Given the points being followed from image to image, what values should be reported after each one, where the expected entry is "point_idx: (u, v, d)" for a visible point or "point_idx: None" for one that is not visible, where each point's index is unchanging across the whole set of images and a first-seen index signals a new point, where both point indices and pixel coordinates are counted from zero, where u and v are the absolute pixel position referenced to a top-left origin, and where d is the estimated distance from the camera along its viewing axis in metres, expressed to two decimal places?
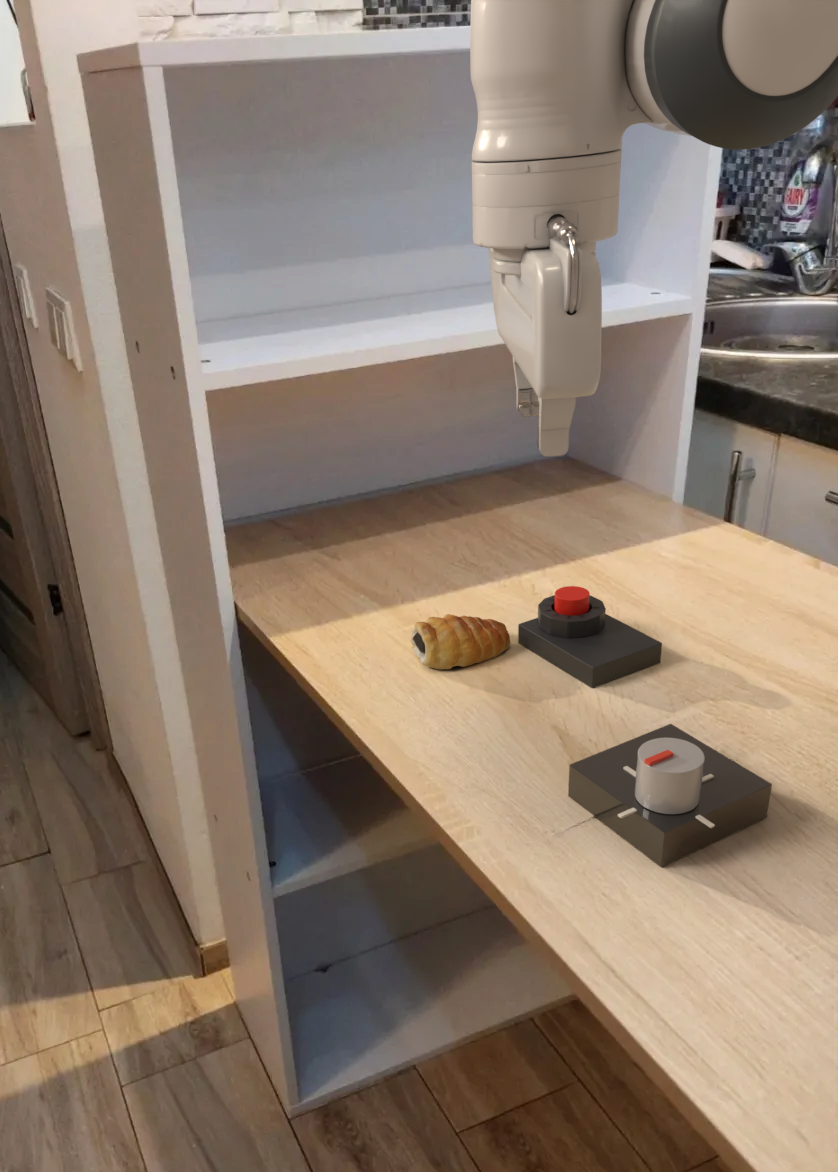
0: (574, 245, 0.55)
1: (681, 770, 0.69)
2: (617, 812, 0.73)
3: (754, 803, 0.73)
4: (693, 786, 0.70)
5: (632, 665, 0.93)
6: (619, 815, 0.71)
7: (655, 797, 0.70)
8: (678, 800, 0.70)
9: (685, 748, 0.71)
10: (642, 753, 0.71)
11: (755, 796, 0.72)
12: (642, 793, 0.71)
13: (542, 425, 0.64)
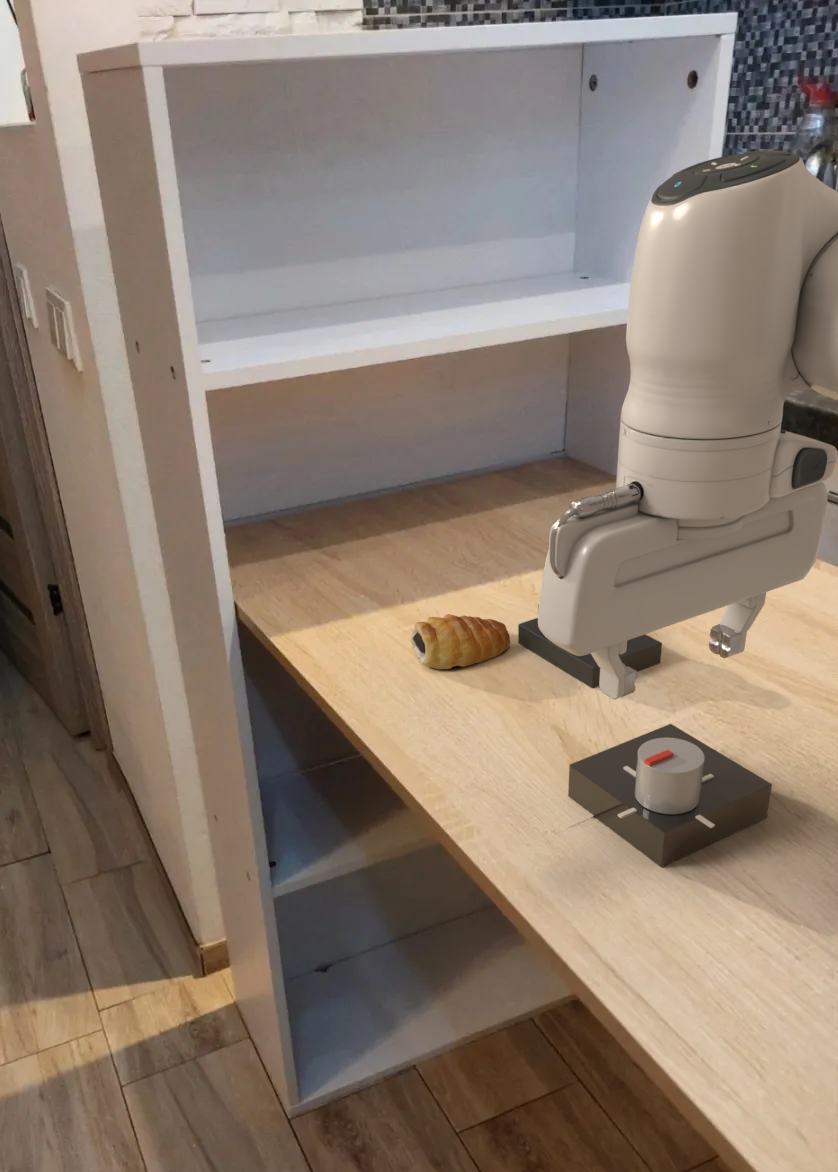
0: (558, 520, 0.57)
1: (681, 770, 0.69)
2: (617, 812, 0.73)
3: (754, 803, 0.73)
4: (693, 786, 0.70)
5: (632, 665, 0.93)
6: (619, 815, 0.71)
7: (655, 797, 0.70)
8: (678, 800, 0.70)
9: (685, 748, 0.71)
10: (642, 753, 0.71)
11: (755, 796, 0.72)
12: (642, 793, 0.71)
13: (597, 663, 0.65)
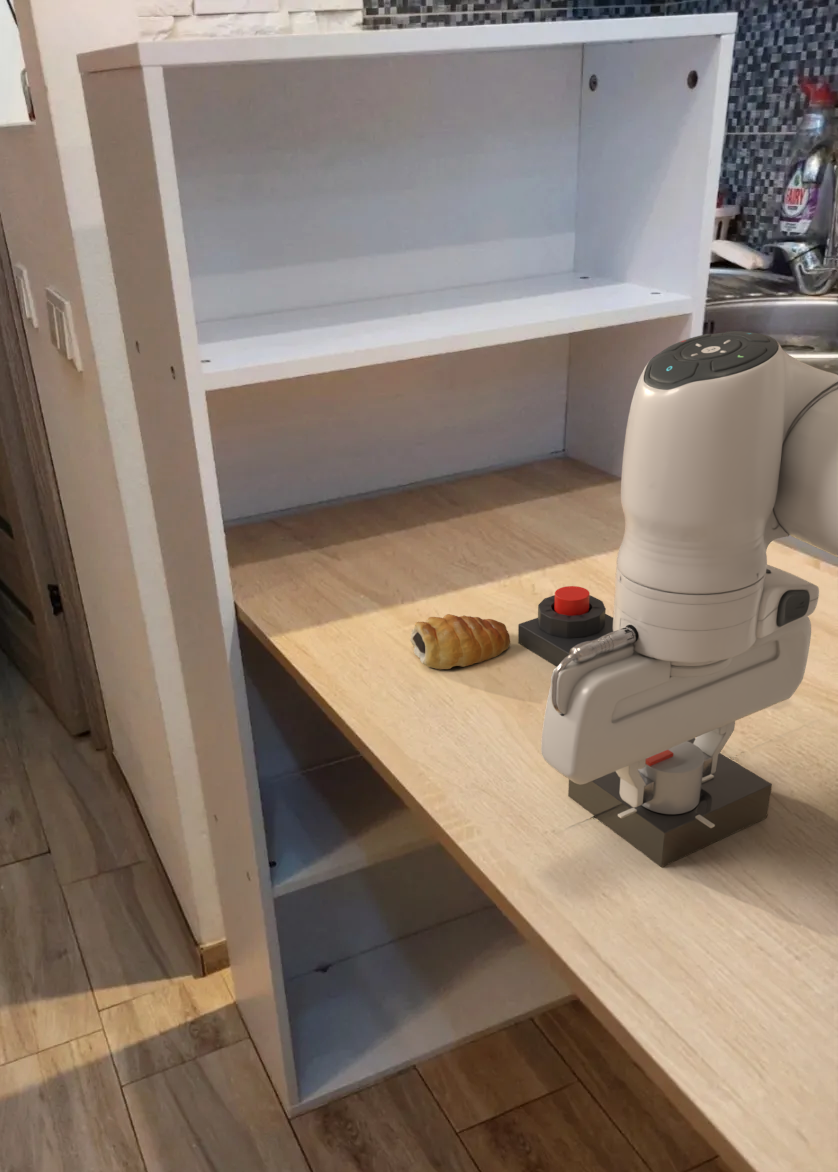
0: (559, 665, 0.62)
1: (681, 770, 0.69)
2: (617, 812, 0.73)
3: (754, 803, 0.73)
4: (693, 786, 0.70)
5: None
6: (619, 815, 0.71)
7: (655, 797, 0.70)
8: (678, 800, 0.70)
9: (685, 748, 0.71)
10: None
11: (755, 796, 0.72)
12: None
13: None
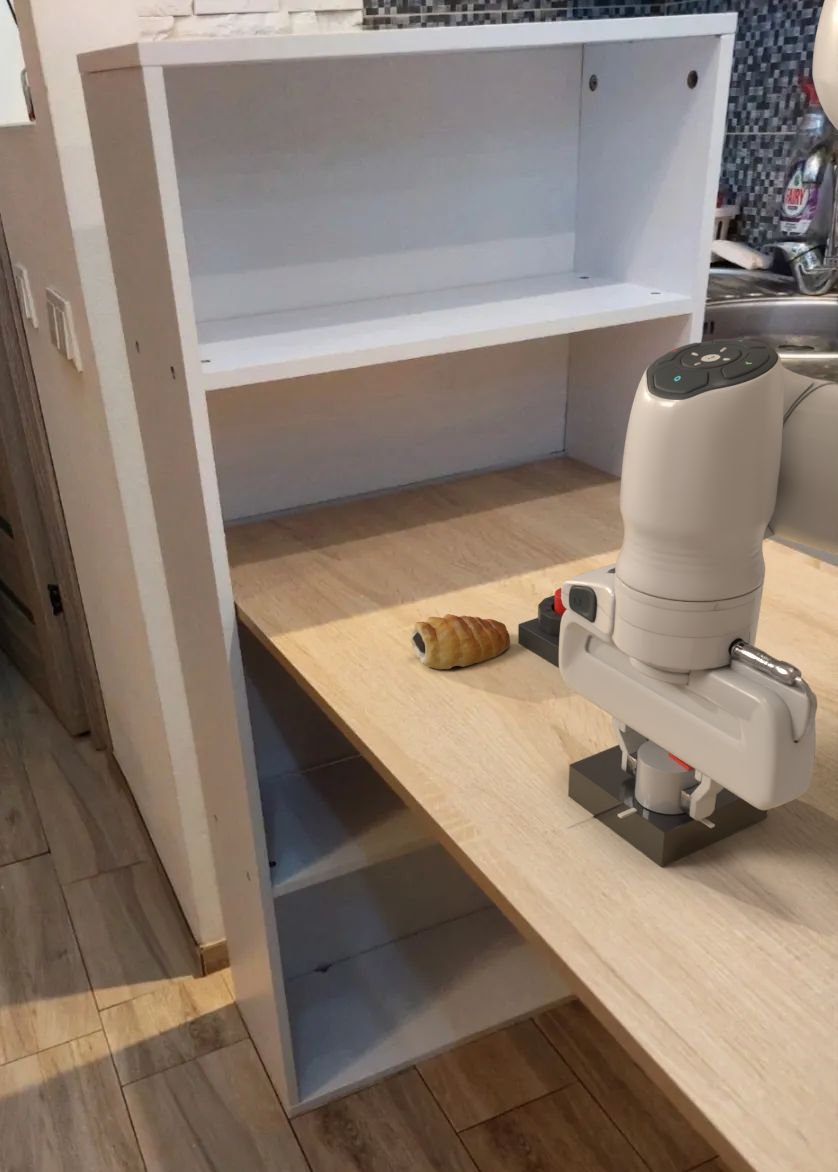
0: (810, 691, 0.58)
1: None
2: (617, 812, 0.73)
3: None
4: None
5: None
6: (619, 815, 0.71)
7: None
8: None
9: None
10: (670, 770, 0.69)
11: None
12: None
13: (701, 798, 0.68)
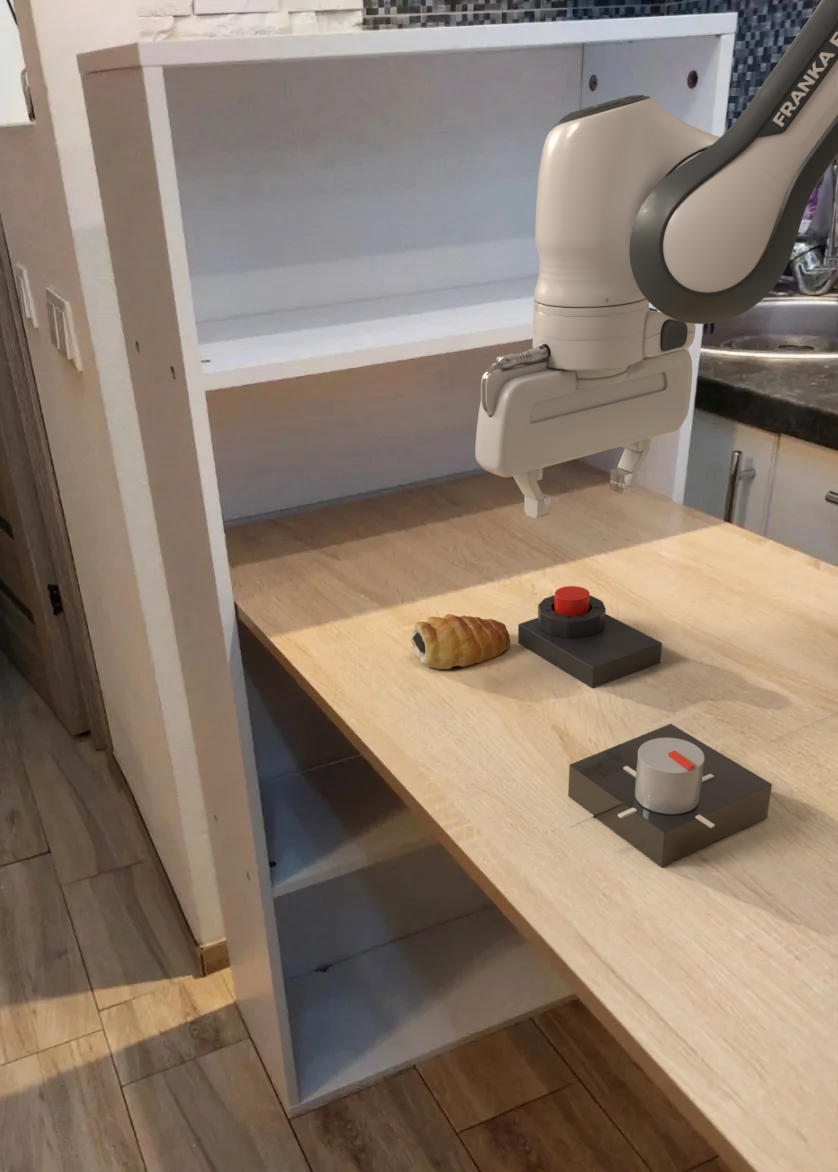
0: (487, 370, 0.78)
1: (699, 752, 0.70)
2: (617, 812, 0.73)
3: (754, 803, 0.73)
4: None
5: (632, 665, 0.93)
6: (619, 815, 0.71)
7: (697, 792, 0.70)
8: None
9: (658, 745, 0.72)
10: (670, 770, 0.69)
11: (755, 796, 0.72)
12: (687, 800, 0.70)
13: None
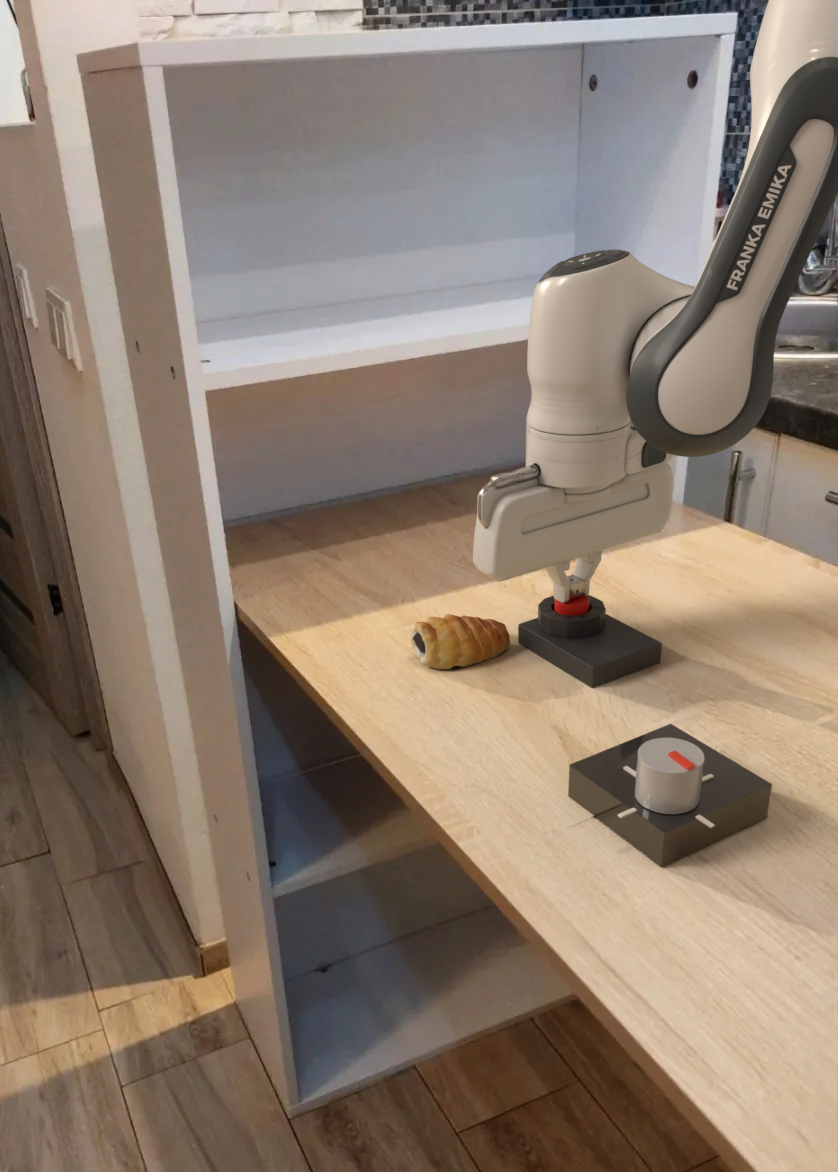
0: (482, 489, 0.87)
1: (699, 752, 0.70)
2: (617, 812, 0.73)
3: (754, 803, 0.73)
4: None
5: (632, 665, 0.93)
6: (619, 815, 0.71)
7: (697, 792, 0.70)
8: None
9: (658, 745, 0.72)
10: (670, 770, 0.69)
11: (755, 796, 0.72)
12: (687, 800, 0.70)
13: (551, 578, 0.96)
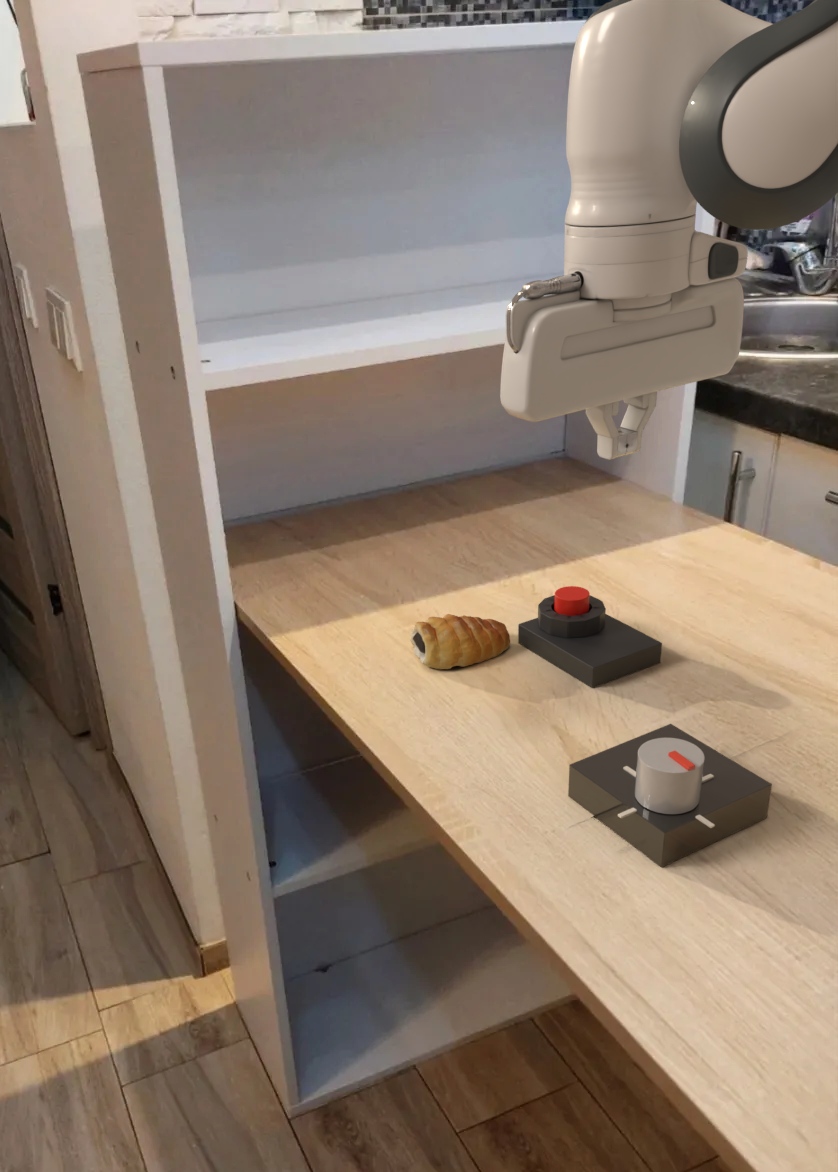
0: (512, 299, 0.70)
1: (699, 752, 0.70)
2: (617, 812, 0.73)
3: (754, 803, 0.73)
4: None
5: (632, 665, 0.93)
6: (619, 815, 0.71)
7: (697, 792, 0.70)
8: None
9: (658, 745, 0.72)
10: (670, 770, 0.69)
11: (755, 796, 0.72)
12: (687, 800, 0.70)
13: (594, 429, 0.79)
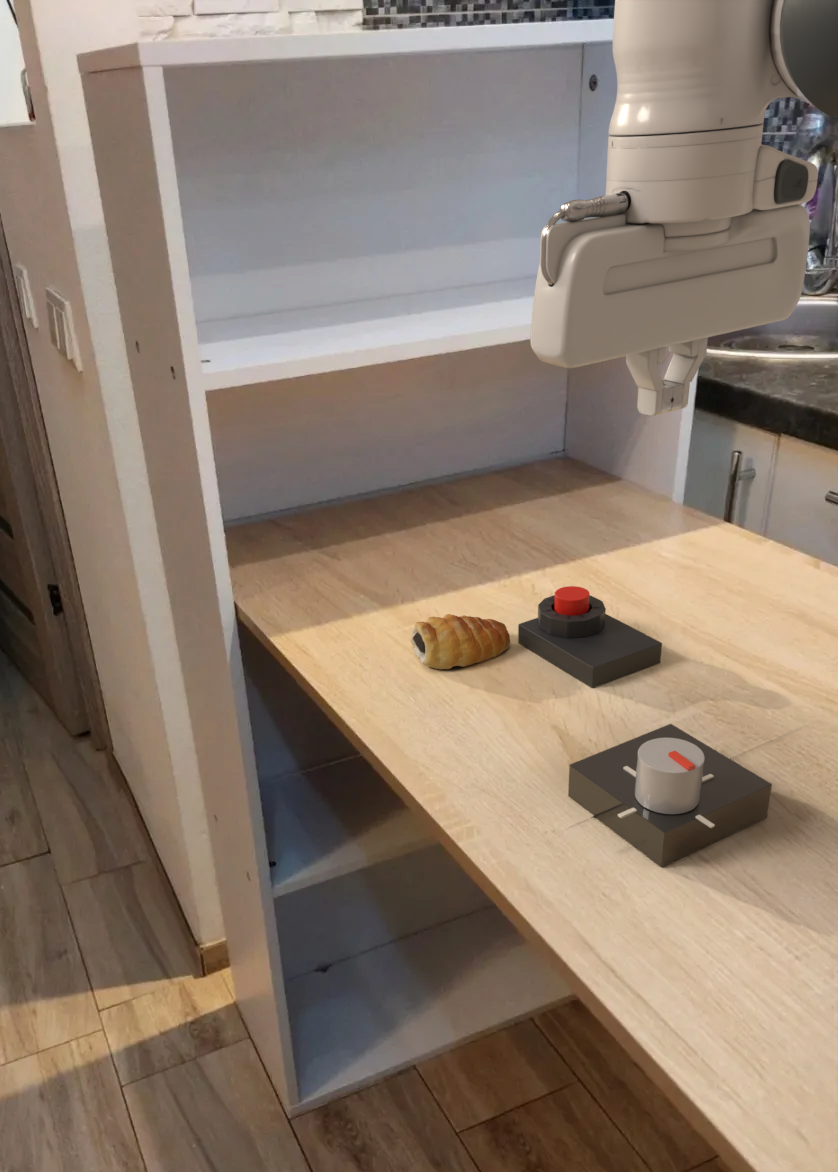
0: (548, 221, 0.59)
1: (699, 752, 0.70)
2: (617, 812, 0.73)
3: (754, 803, 0.73)
4: None
5: (632, 665, 0.93)
6: (619, 815, 0.71)
7: (697, 792, 0.70)
8: None
9: (658, 745, 0.72)
10: (670, 770, 0.69)
11: (755, 796, 0.72)
12: (687, 800, 0.70)
13: (635, 381, 0.69)
